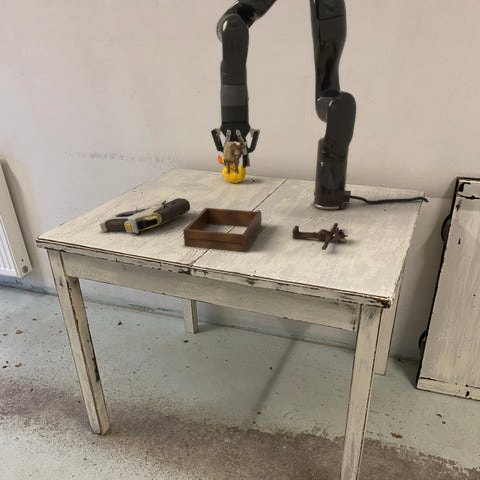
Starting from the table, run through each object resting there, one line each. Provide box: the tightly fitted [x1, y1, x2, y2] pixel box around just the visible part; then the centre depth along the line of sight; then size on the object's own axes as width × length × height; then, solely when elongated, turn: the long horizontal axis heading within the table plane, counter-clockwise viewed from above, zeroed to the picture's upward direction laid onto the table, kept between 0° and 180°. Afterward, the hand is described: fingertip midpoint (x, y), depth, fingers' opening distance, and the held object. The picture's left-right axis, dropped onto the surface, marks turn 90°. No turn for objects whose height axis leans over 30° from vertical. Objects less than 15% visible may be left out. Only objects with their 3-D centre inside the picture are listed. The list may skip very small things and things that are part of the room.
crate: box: [182, 207, 263, 253], centre depth 133 cm, size 17×18×4 cm
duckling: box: [217, 155, 247, 184], centre depth 174 cm, size 11×5×10 cm, turn 59°
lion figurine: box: [222, 142, 251, 174], centre depth 137 cm, size 15×5×9 cm, turn 165°
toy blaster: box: [99, 197, 191, 234], centre depth 142 cm, size 6×25×15 cm
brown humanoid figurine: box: [291, 222, 349, 251], centre depth 129 cm, size 18×4×14 cm
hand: (236, 166), depth 138 cm, fingers closed on lion figurine, 4 cm apart
